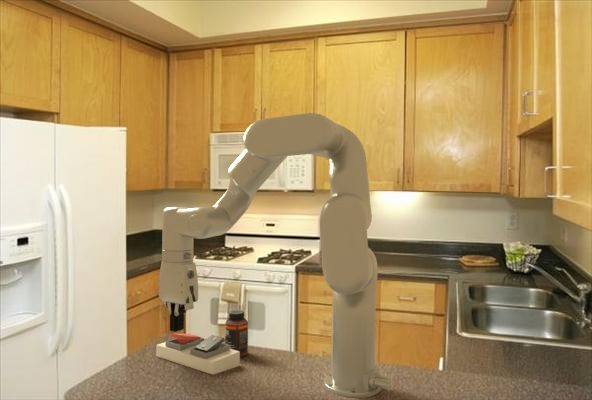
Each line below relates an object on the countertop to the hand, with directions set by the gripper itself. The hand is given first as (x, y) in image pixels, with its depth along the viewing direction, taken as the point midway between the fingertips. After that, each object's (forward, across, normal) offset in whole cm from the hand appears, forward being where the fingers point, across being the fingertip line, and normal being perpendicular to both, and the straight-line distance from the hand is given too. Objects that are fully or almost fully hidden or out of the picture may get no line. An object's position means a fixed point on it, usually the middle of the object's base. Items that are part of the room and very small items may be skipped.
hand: (176, 330), depth 115 cm
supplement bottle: (+8, -8, -14) cm, 18 cm away
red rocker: (+3, 0, -3) cm, 4 cm away
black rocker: (+3, -9, -3) cm, 10 cm away
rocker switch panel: (+8, -5, -3) cm, 10 cm away
